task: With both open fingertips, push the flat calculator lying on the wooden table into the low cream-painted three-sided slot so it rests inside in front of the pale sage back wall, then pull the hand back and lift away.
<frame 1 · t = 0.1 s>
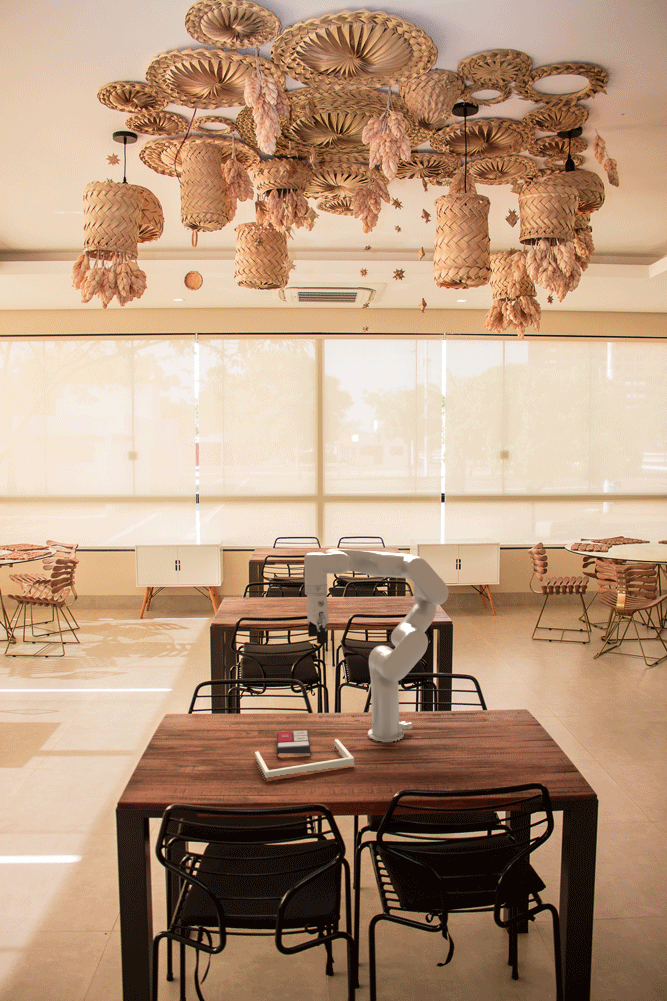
hand: (317, 639, 239), 37 cm above the table, tool pointing down, fingers open, 9 cm apart
slot: (303, 763, 228), on the table
calculator: (293, 749, 240), on the table
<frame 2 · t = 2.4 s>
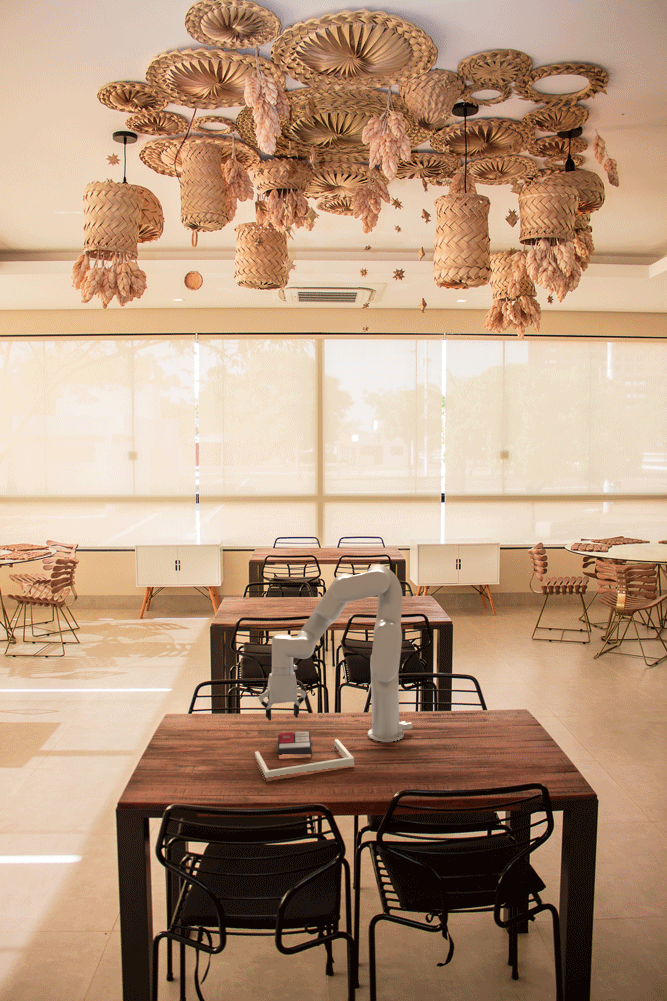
hand: (282, 717, 251), 7 cm above the table, tool pointing down, fingers open, 9 cm apart
calculator: (294, 750, 240), on the table
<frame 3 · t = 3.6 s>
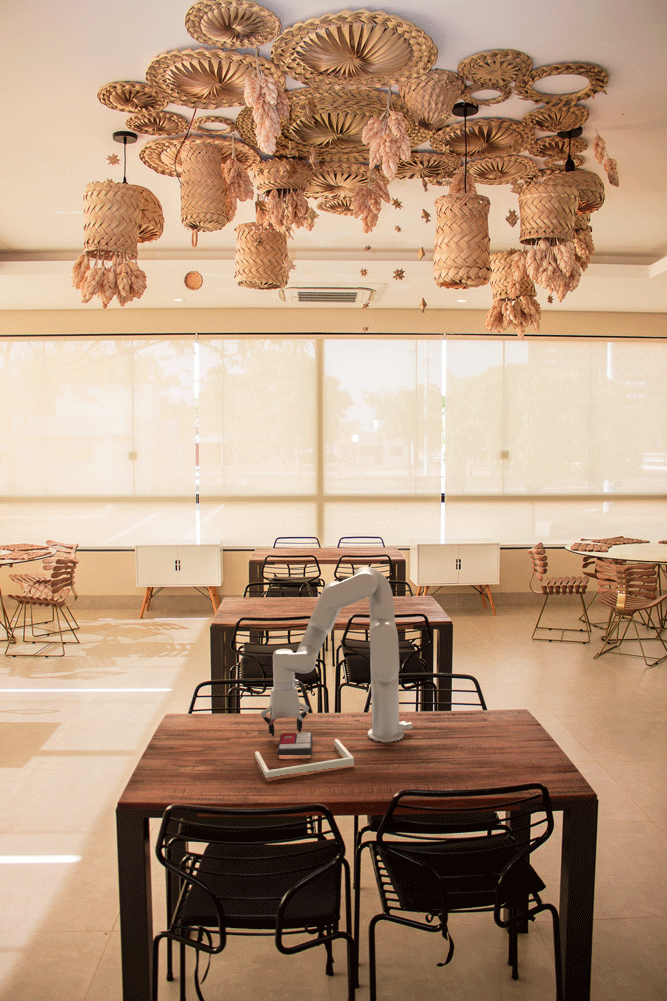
hand: (285, 732, 250), 1 cm above the table, tool pointing down, fingers open, 9 cm apart
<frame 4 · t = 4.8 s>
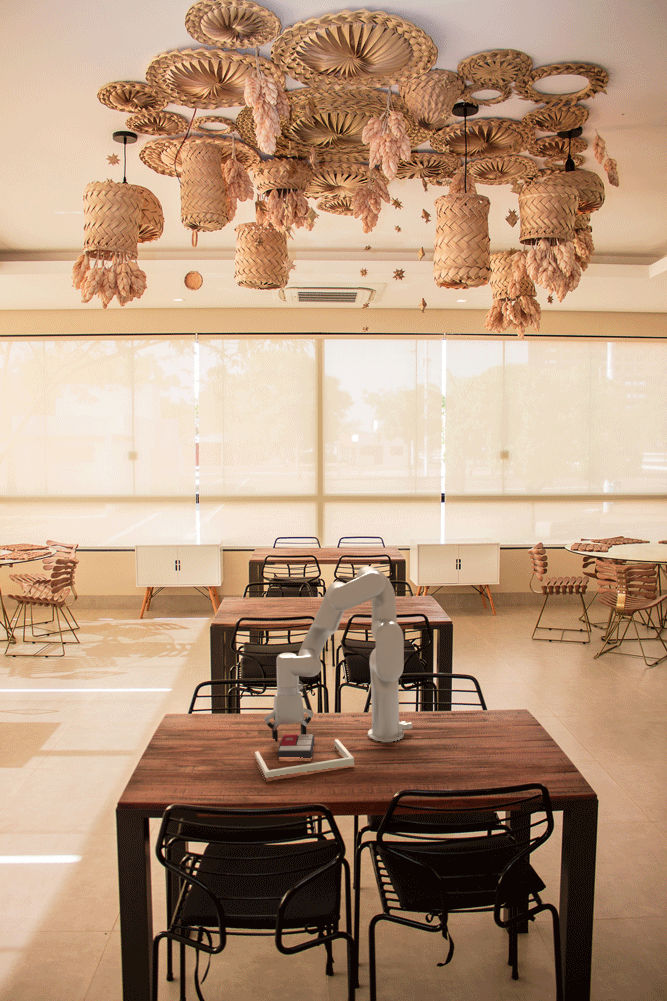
hand: (289, 738, 245), 2 cm above the table, tool pointing down, fingers open, 9 cm apart
calculator: (296, 753, 237), on the table, touching gripper
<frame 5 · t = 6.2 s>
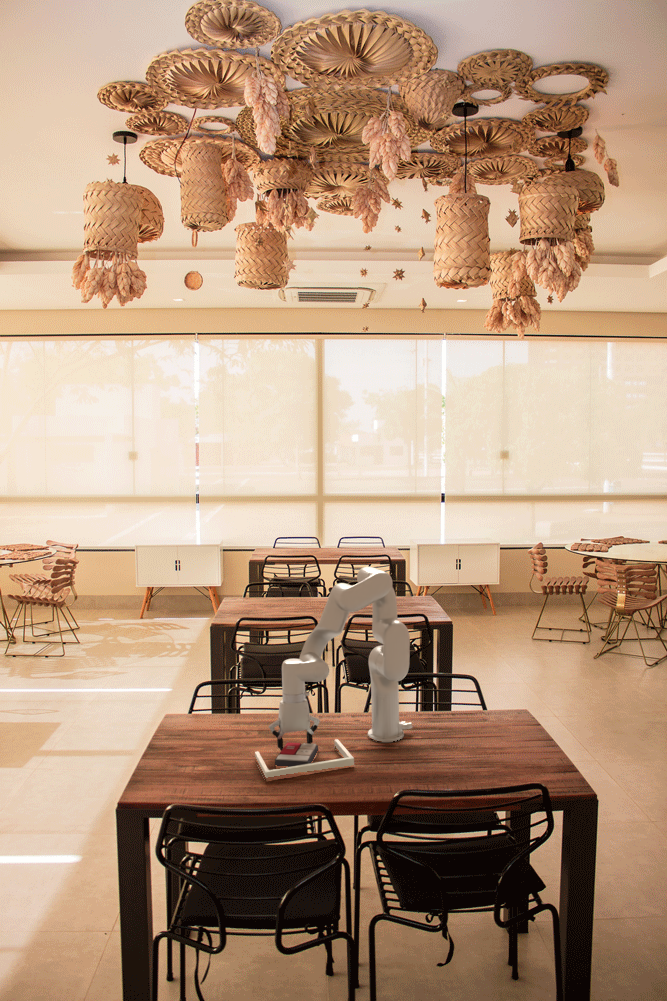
hand: (295, 747, 237), 2 cm above the table, tool pointing down, fingers open, 9 cm apart
calculator: (297, 763, 230), on the table
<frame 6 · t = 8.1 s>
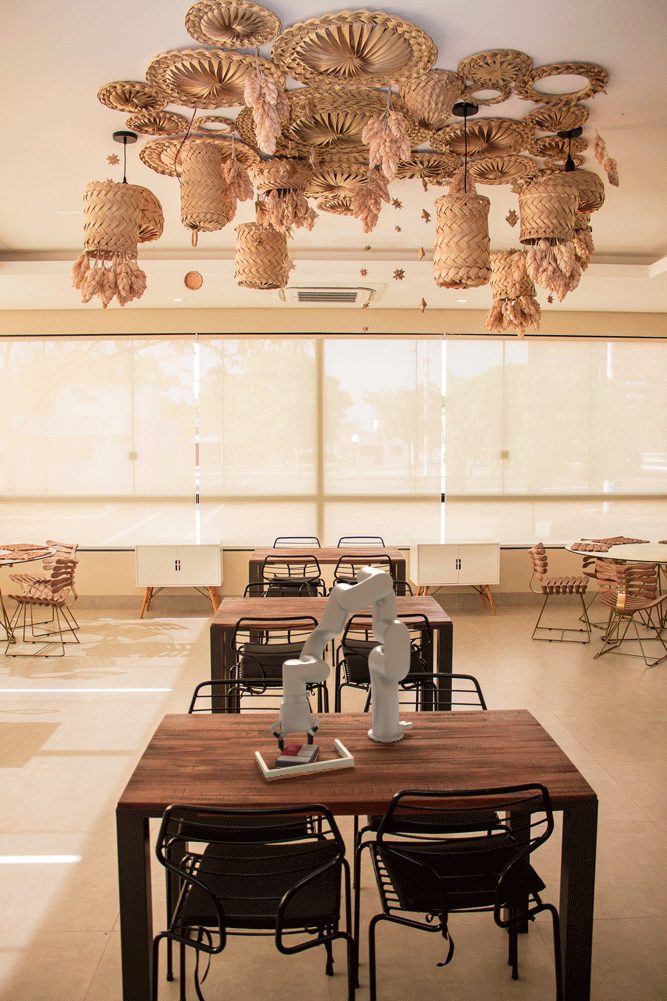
hand: (296, 748, 236), 2 cm above the table, tool pointing down, fingers open, 9 cm apart
calculator: (298, 764, 229), on the table, touching slot
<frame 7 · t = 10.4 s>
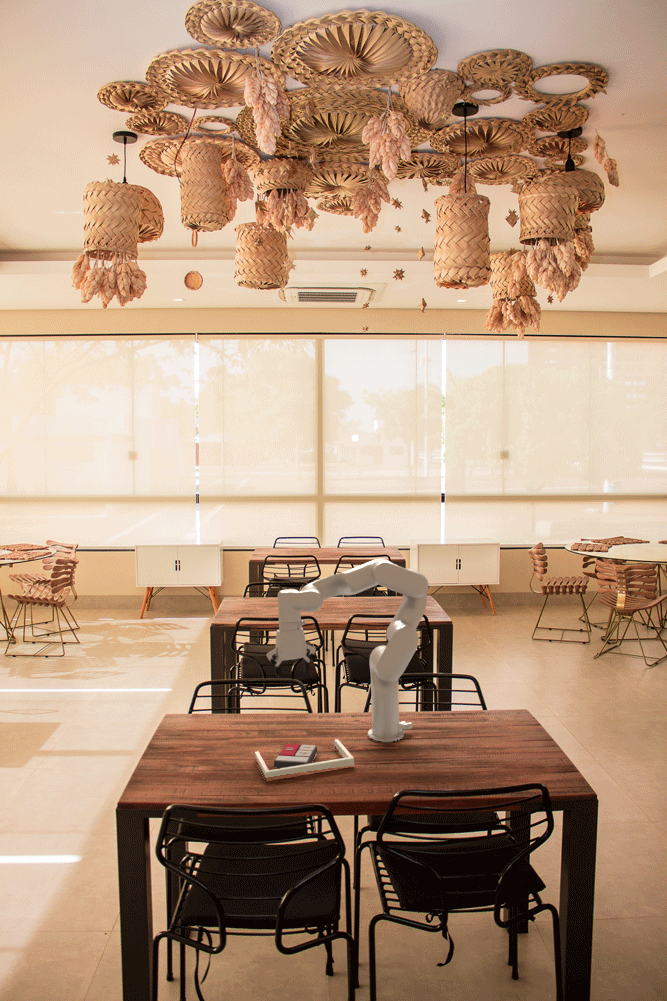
hand: (292, 675, 243), 24 cm above the table, tool pointing down, fingers open, 9 cm apart
calculator: (296, 764, 229), on the table
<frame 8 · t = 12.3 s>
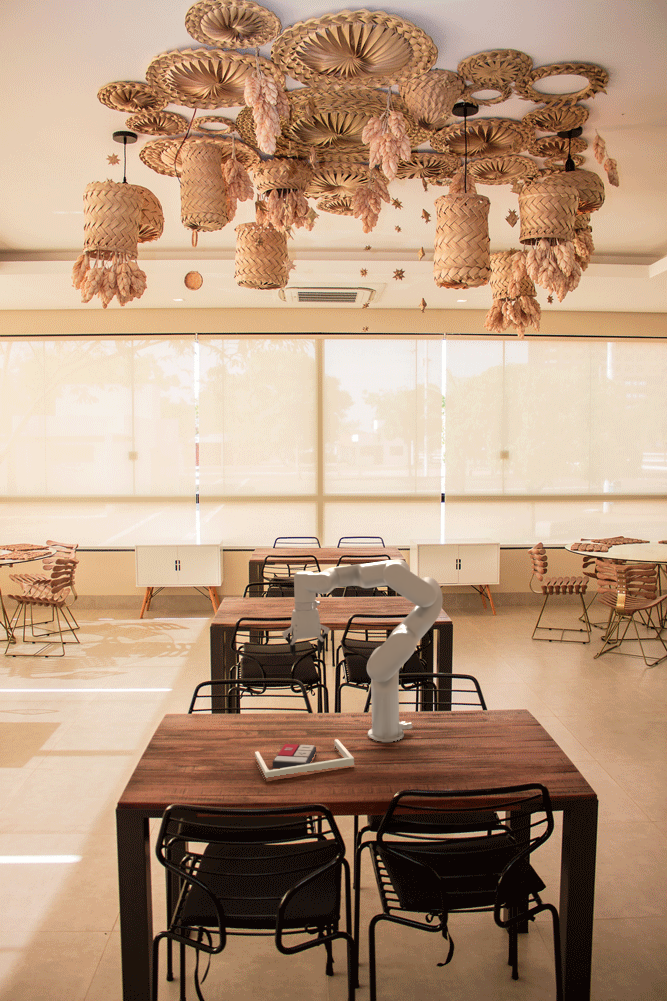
hand: (306, 653, 253), 28 cm above the table, tool pointing down, fingers open, 9 cm apart
nothing on the table moved.
at the end: calculator inside the target area on the slot (3.5 cm from its centre), point -0.7 cm above the slot's base; calculator moved 11.8 cm from its start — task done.
